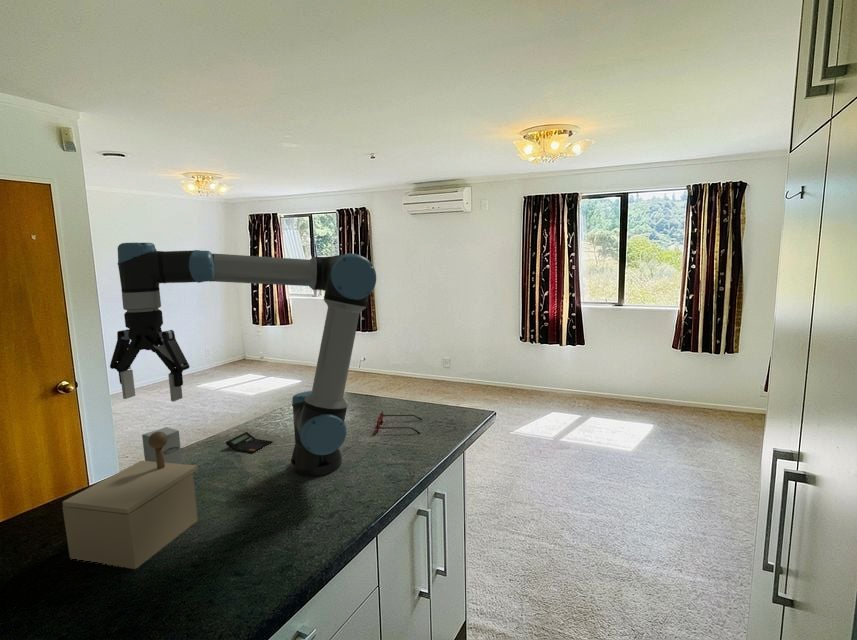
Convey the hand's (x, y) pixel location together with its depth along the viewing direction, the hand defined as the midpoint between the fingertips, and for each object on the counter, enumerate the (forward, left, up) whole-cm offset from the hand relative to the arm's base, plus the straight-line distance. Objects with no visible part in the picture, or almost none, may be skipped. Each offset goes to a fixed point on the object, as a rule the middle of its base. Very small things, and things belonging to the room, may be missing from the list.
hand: (152, 398), depth 110 cm
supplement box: (+20, -21, -31) cm, 43 cm away
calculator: (+6, -43, -31) cm, 54 cm away
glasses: (-40, -69, -31) cm, 85 cm away
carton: (0, +9, -30) cm, 32 cm away
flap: (0, +8, -18) cm, 20 cm away
